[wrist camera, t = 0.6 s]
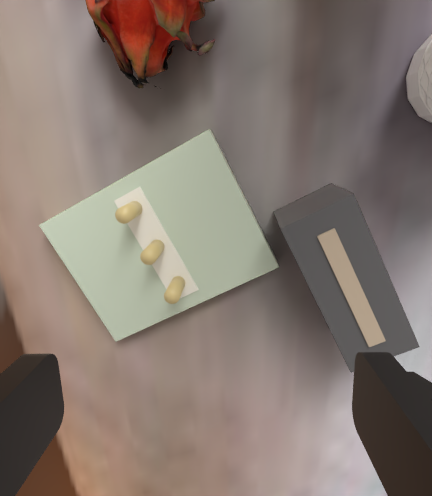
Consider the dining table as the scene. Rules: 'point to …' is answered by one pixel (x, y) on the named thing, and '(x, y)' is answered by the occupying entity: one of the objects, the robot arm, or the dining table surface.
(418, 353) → the dining table surface
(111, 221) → the board
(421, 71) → the white cup
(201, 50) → the dragon fruit
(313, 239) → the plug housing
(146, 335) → the dining table surface
